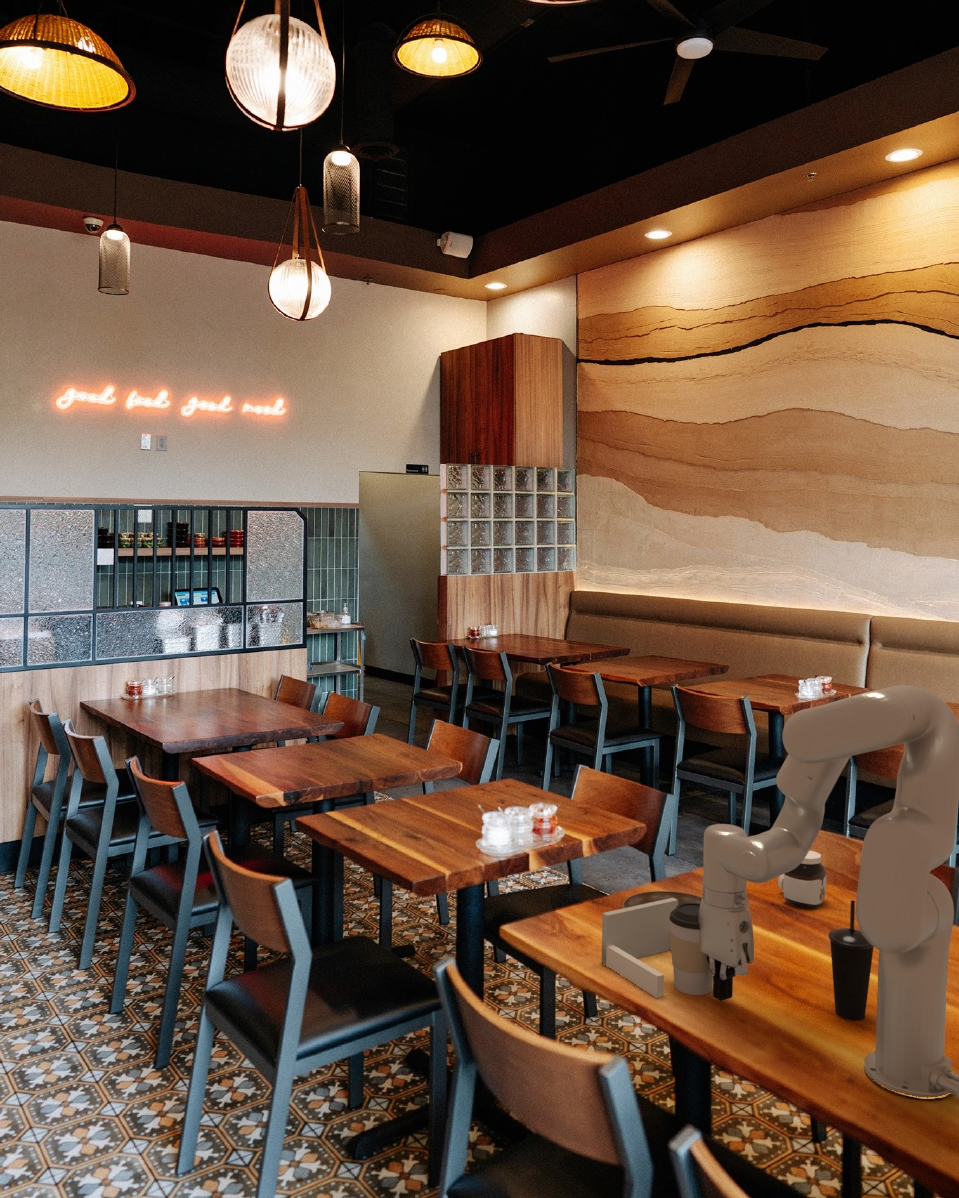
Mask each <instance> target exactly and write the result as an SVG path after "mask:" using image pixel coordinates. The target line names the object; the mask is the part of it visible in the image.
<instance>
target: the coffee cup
mask: <svg viewBox="0 0 959 1198" xmlns="http://www.w3.org/2000/svg"><path fill="white" fill-rule="evenodd" d="M699 908H700V903H683V904H679V905H678V906H677V907H676V909H674V910H673V911H672V912H671V913H670V917H669V919H670V921H671V931H670V935H671V950H670V951H671V963H672V966H673V967H672V968H673V970H672V971H673V981H674V982H673V984H674V988H675V990H677V991H679V992H681V993H683V994H685V995H686V994H687V995H689V996H704V995H707V994H709V993H711V992H713V976H714V975H712V974H711V971H710V965H709V963H708V961H707V955H706V954H705V953H703V952H702V951H701V950H700V943H699V930H700V927H699V925H700V924H699V923H698V914H699Z"/></svg>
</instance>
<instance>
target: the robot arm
mask: <svg viewBox="0 0 959 1198" xmlns="http://www.w3.org/2000/svg"><path fill="white" fill-rule="evenodd" d="M782 744H783V746H784V750H786V751H785V752H787V756H786V757H785V760H784V762H783V764H782V765H781V767H780V769H779V770H778V773H777V774H776V779H775V782H776V786H777V788H778V790H779V791H780V792H781V793H782V794H783V795H784V797H785V798H784V802H783V805H782V807H781V810H780V812H779V814H778V816H777V818H776V820H775V821H774V823H773V825H772V827H771V828H770V829H769V830H767V831H766V830H765V831H764V832H760V833H759V834H756V835H750V836H748V834H747V831H746V830H744V829H743V827H740V826H738V825H734V824H728V823H716V824H712V825H711V824H710V825H709V826H707V827H706V828H705V830H704V833H703V855H702V857H703V860H702V861H703V862H702V863H703V865H702V866H703V867H702V868H703V869H702V871H703V872H702V899H701V903H700V908H699V914H698V923H699V924H700V925H699V927H700V930H699V943H700V950H701V951H702V952H703V953H705V954H706V955H707V961H708V963H709V965H710V971H711V974H712V975H713V984H712V998H714V999H716V1000H718V1001H719V1002H722V1001H725V1000H728V999H731V998H733V989H734V987H733V986H734V982H733V981H734V980H733V979H734V978H735V977H736V976H739V977H741V976H742V977H743V976H746V975H748V974H749V970H748V969H749V968H748V964H752V963H754V962H755V961H754V960H755V944H754V943H755V940H754V938H755V937H754V927H753V921H752V919H753V918H752V915H751V910H750V908H749V907H748V906H749V904H750V901H749V899H748V898H747V893H748V892H747V889H748V888H747V886H748V885H747V884H748V882H750V883H753V884H763V883H764V884H765V883H768V882H770V881H772V880H774V879H777V878H779V876H780V875H782V874H785V873H787V872H789V871H791V870H793V869H795V868H796V867H797V866H799V865H800V864H801V862H802V861H803V860H804V858H805V857H806V855H807V854H808V852H809V850H810V851H811V848H812V846H813V844H814V842H815V841H816V839H817V838H818V836H819V834H820V831H821V829H822V825H823V821H824V815H825V811H826V810H825V809H826V806H825V804H826V802H827V800H828V798H829V796H830V794H831V793H832V791H833V789H834V787H835V785H836V783H837V781H838V779H839V777H840V775H841V773H842V772H843V770H844V768H845V767H846V764H847V763H848V761H849V760H850V757H853V756H857V755H861V754H865V753H868V752H874V751H878V750H883V749H886V748H890V747H893V746H897V745H900V744H903V747H904V748H903V749H904V750H903V753H902V754H903V755H902V758H901V761H900V764H899V767H898V771H897V778H896V790H895V796H894V802H893V807H892V810H891V811H890V812H888V813H886V814H883V815H882V816H880V817H878V818H876V820H875V821H873V822H872V824H871V825H870V826H869V828H868V829H867V831H866V834H865V836H864V839H863V842H862V847H861V848H862V849H861V854H860V864H859V874H858V881H857V882H858V883H857V890H856V891H857V892H856V901H855V915H856V921H857V925H858V928H859V930H861V932H862V934H863V936H864V937H865V939H866V940H867V941H868V942H869V943H870V944H871V945H872V946H873V947H874V948H875V949H876V950H878V951H879V953H878V965H877V967H878V969H877V995H876V996H877V998H876V1028H875V1029H876V1033H875V1034H876V1035H875V1036H876V1037H875V1051H872V1052H870V1053H868V1054H867V1055H866V1057H865V1059H864V1064H863V1065H864V1071H865V1073H866V1075H867V1074H868V1075H867V1077H869V1076H870V1077H869V1079H871V1078H872V1079H873V1080H872V1079H871V1080H872V1081H873V1082H874V1081H875V1082H877V1083H879V1084H880V1085H883V1086H884V1087H886V1088H888V1089H890V1090H894V1091H896V1092H900V1093H904V1094H906V1095H912V1096H916V1097H917V1096H918V1097H927V1098H928V1097H938V1096H942V1095H946V1094H948V1093H951V1095H952V1096H955V1097H957V1098H958V1099H959V1074H957V1073H955V1072H954V1071H953V1070H952V1059H951V1058H950V1057H948V1056H946V1055H945V1052H946V1051H945V1049H946V1045H945V1044H946V1020H947V1019H946V1017H947V1015H946V1014H947V986H948V965H949V954H950V953H949V952H950V946H951V941H952V940H951V939H952V933H953V927H954V920H955V908H954V907H955V906H954V903H953V902H954V901H953V898H952V895H951V892H950V891H949V889H948V887H947V886H946V885H945V884H944V882H943V881H942V880H940V879H939V878H938V877H936V876H935V875H934V874H932V873H931V871H933V870H935V869H937V868H938V867H939V866H941V865H943V864H945V862H946V861H947V860H949V859H950V858H951V855H952V853H953V851H954V848H955V847H954V846H955V839H956V830H957V829H956V828H957V827H956V826H957V820H958V819H957V817H958V809H959V720H958V718H957V717H956V715H955V713H954V712H953V710H952V709H951V708H950V707H949V705H948V704H947V703H946V702H945V701H944V700H943V699H942V698H940V697H939V696H938V695H936V694H935V693H933V692H932V691H930V690H928V689H926V688H923V687H920V686H916V685H911V684H909V685H908V684H900V685H893V686H889V687H885V688H880V689H875V690H871V691H865V692H863V693H859V694H855V695H852V696H849V697H847V698H843V699H839V700H835V701H832V702H829V703H825V704H821V705H819V706H818V705H817V706H814V707H809V708H803V709H800V710H798V711H796V712H794V713H793V714H792V715H791V716H790V717H789V718H788V719H787V720H786V722H785V725H784V726H783V729H782ZM728 967H729V968H728ZM875 1082H874V1083H875Z"/></svg>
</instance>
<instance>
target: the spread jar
mask: <svg viewBox="0 0 959 1198" xmlns="http://www.w3.org/2000/svg"><path fill="white" fill-rule="evenodd" d="M826 871H827V870H826V868H825V866H824V865H823V864H822V854H821V853H819V852H817V851H814V850H811V849H810V850H809V852H808V854H807V855H806V857H805V858H804V860H803V861H802V862H801V864H800V865H799V866H797V867H796V868H795V869H793V870H791V871H789V872H787V873H785V874H782V875H780V876H778V880H777V884H778V887H779V889H780V890H781V891H782V892H783V897H784V899H785V901H786V902H787V903H788V904H790V905H791V906H793V907H795V906H796V908H799V909H804V908H805V909H806V910H815V909H818V908H820V907H821V906H822V905H823V903H824V900H825V898H826V894H827V893H826V892H827V872H826ZM814 908H815V909H814Z"/></svg>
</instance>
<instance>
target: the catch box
mask: <svg viewBox="0 0 959 1198" xmlns="http://www.w3.org/2000/svg"><path fill="white" fill-rule="evenodd" d="M677 906H678V900H677V899H675V898H669V899H665V900H660V901H656V902H651V903H646V904H642V905H637V906H633V907H628V908H623V907H622V908H621V909H615V910H610V911H605V912H602V914H601V915H602V917H601V919H602V920H601V924H602V925H601V964H602V963H603V964H605V965H607V966H608V967H610V968H611V969H612V970H611V969H610V968H609V969H610V970H611V971H613V970H614V971H615V973H616V972H617V973H616V974H618V973H619V974H621V975H622V976H623V977H622V976H621V975H620V976H621V977H622V978H624V977H626V978H627V979H629V980H630V981H631V983H632V982H633V983H634V984H633V983H632V984H633V985H635V984H636V985H635V986H637V987H638V986H639V987H638V988H640V989H641V990H644V991H645V992H646V991H647V992H646V993H648V994H649V993H650V995H651V996H653V997H654V998H656V999H661V998H662V997H663V996H664V993H665V990H664V989H665V974H664V973H662V972H660V971H658V970H657V969H655V968H654V967H651V966H650V965H648V964H646V963H645V962H643V961H641V960H640V959H641V958H645V957H649V956H652V955H656V953H657V954H660V953H664V951H665V952H669V951H671V935H670V931H671V921H670V919H669V917H670V913H671V912H672V911H673V910H674V909H676V907H677ZM668 950H669V951H668ZM603 964H602V965H603ZM605 965H604V966H605ZM608 967H607V968H608ZM728 968H729V967H728ZM614 971H613V972H614ZM619 974H618V975H619ZM626 978H625V979H626ZM627 979H626V980H627ZM629 980H628V981H629ZM630 981H629V982H630Z"/></svg>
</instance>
